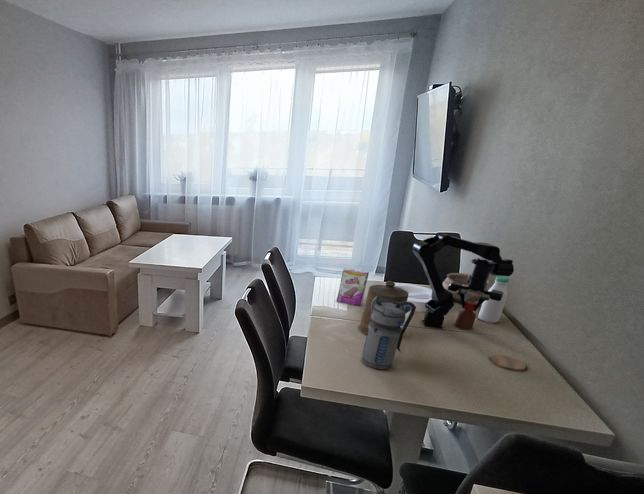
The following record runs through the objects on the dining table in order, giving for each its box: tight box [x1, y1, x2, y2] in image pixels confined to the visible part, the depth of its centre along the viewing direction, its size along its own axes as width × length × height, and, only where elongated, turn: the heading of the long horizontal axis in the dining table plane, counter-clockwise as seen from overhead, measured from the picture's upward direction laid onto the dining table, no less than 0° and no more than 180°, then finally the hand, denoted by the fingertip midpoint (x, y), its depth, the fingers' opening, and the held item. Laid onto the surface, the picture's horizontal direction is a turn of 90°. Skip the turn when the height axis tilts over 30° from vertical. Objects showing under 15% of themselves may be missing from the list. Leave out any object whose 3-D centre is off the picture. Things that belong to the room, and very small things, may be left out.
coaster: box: [490, 354, 527, 372], centre depth 149 cm, size 10×10×1 cm
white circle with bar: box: [383, 282, 432, 313], centre depth 205 cm, size 28×28×5 cm
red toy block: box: [462, 301, 478, 312], centre depth 175 cm, size 4×4×3 cm
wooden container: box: [359, 280, 409, 335], centre depth 168 cm, size 15×15×22 cm
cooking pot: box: [442, 272, 490, 305], centre depth 205 cm, size 25×19×12 cm
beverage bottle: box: [361, 296, 416, 370], centre depth 142 cm, size 10×13×25 cm
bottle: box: [454, 309, 477, 331], centre depth 177 cm, size 6×6×10 cm
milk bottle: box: [477, 276, 510, 324], centre depth 183 cm, size 8×8×20 cm
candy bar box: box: [336, 267, 370, 307], centre depth 199 cm, size 11×5×16 cm, turn 58°
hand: (468, 309), depth 176 cm, fingers closed on red toy block, 4 cm apart
